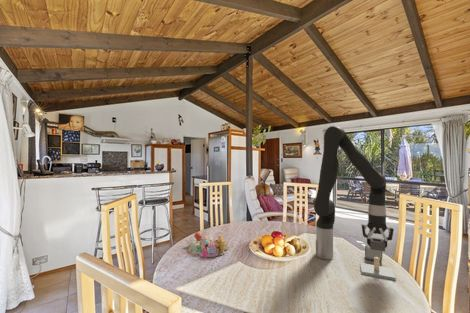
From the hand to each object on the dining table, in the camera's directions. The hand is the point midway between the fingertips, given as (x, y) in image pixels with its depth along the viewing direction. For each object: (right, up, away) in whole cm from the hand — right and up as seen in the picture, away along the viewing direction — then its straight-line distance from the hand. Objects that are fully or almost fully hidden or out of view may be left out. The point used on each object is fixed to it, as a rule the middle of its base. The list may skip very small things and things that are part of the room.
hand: (376, 246), depth 114 cm
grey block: (0, -1, 0) cm, 1 cm away
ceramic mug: (+7, -13, +16) cm, 22 cm away
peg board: (0, -13, 0) cm, 13 cm away
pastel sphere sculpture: (-88, -13, +28) cm, 94 cm away
